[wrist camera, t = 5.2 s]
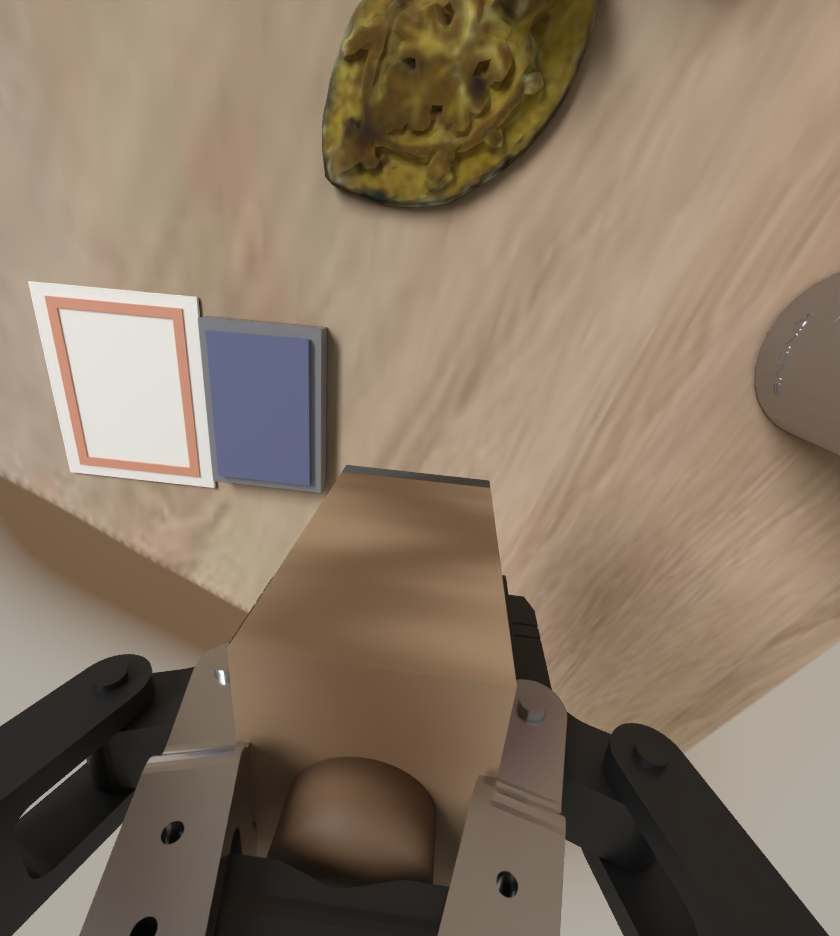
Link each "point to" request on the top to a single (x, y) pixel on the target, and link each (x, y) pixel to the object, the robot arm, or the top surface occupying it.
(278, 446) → the ink pad
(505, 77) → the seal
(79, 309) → the paper sheet
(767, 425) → the top surface
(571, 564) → the top surface
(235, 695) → the stamp
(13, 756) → the robot arm
